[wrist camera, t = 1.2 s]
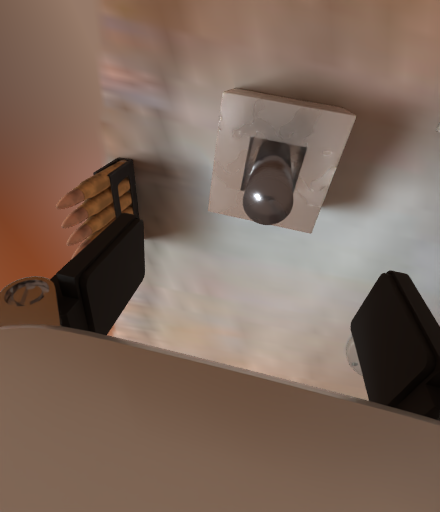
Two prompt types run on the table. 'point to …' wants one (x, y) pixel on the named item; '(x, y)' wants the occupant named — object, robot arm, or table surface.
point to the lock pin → (270, 185)
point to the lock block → (281, 130)
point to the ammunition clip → (100, 201)
